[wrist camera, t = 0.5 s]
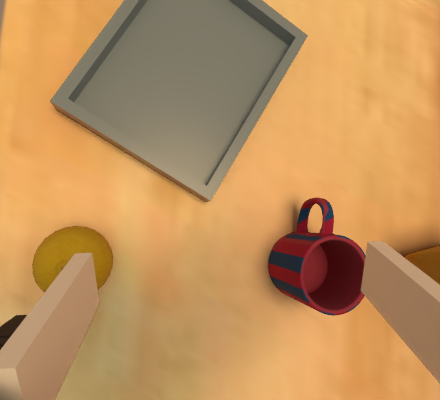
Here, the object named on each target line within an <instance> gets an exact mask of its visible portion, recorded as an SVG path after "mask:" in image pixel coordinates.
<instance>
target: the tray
mask: <svg viewBox="0 0 440 400" xmlns="http://www.w3.org/2000/svg"><path fill="white" fill-rule="evenodd" d="M307 36H308V35H306V34H305V33H304V32H302V31H301V30H300V29H298V28H297V27H296V26H295V25H293V24H292V23H291V22H289V21H288V20H287V19H286V18H284V17H283V16H282V15H280V14H279V13H278V12H276V11H275V10H274V9H273V8H271V7H270V6H269V5H267V4H266V3H265V2H263V1H262V0H124V2H123V3H122V4H121V6H120V7H119V8H118V10H117V11H116V12H115V14H114V15H113V16H112V18H111V19H110V21H109V22H108V23H107V25H106V26H105V27H104V29H103V30H102V31H101V33H100V34H99V35H98V37H97V38H96V39H95V41H94V42H93V44H92V45H91V46H90V48H89V49H88V50H87V52H86V53H85V54H84V56H83V57H82V58H81V60H80V61H79V62H78V64H77V65H76V67H75V68H74V69H73V71H72V72H71V73H70V75H69V76H68V77H67V79H66V80H65V81H64V83H63V84H62V85H61V87H60V88H59V90H58V91H57V92H56V94H55V95H54V96H53V98H52V99H51V100H50V102H51V103H52V104H53V106H54V107H55V108H56V110H58V111H59V112H61V113H63V114H64V115H66V116H67V117H69V118H71V119H72V120H74V121H76V122H77V123H79V124H80V125H82V126H84V127H85V128H87V129H88V130H90V131H92V132H93V133H95V134H97V135H98V136H100V137H101V138H103V139H105V140H106V141H108V142H110V143H111V144H113V145H114V146H116V147H118V148H119V149H121V150H122V151H124V152H126V153H127V154H129V155H131V156H132V157H134V158H135V159H137V160H139V161H140V162H142V163H144V164H145V165H147V166H148V167H150V168H152V169H153V170H155V171H156V172H158V173H160V174H161V175H163V176H165V177H166V178H168V179H169V180H171V181H173V182H174V183H176V184H178V185H179V186H181V187H182V188H184V189H186V190H187V191H189V192H190V193H192V194H194V195H195V196H197V197H199V198H200V199H202V200H203V201H205V202H208V201H211V199H212V198H213V196H214V194H215V193H216V191H217V189H218V187H219V186H220V184H221V182H222V181H223V179H224V177H225V176H226V174H227V172H228V170H229V169H230V167H231V165H232V164H233V162H234V160H235V159H236V157H237V155H238V153H239V152H240V150H241V148H242V147H243V145H244V143H245V142H246V140H247V138H248V136H249V135H250V133H251V131H252V130H253V128H254V126H255V125H256V123H257V121H258V119H259V118H260V116H261V114H262V113H263V111H264V109H265V108H266V106H267V104H268V102H269V101H270V99H271V97H272V96H273V94H274V92H275V91H276V89H277V87H278V85H279V84H280V82H281V80H282V79H283V77H284V75H285V74H286V72H287V70H288V68H289V67H290V65H291V63H292V62H293V60H294V58H295V57H296V55H297V53H298V51H299V50H300V48H301V46H302V45H303V43H304V41H305V40H306V38H307Z"/></svg>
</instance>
